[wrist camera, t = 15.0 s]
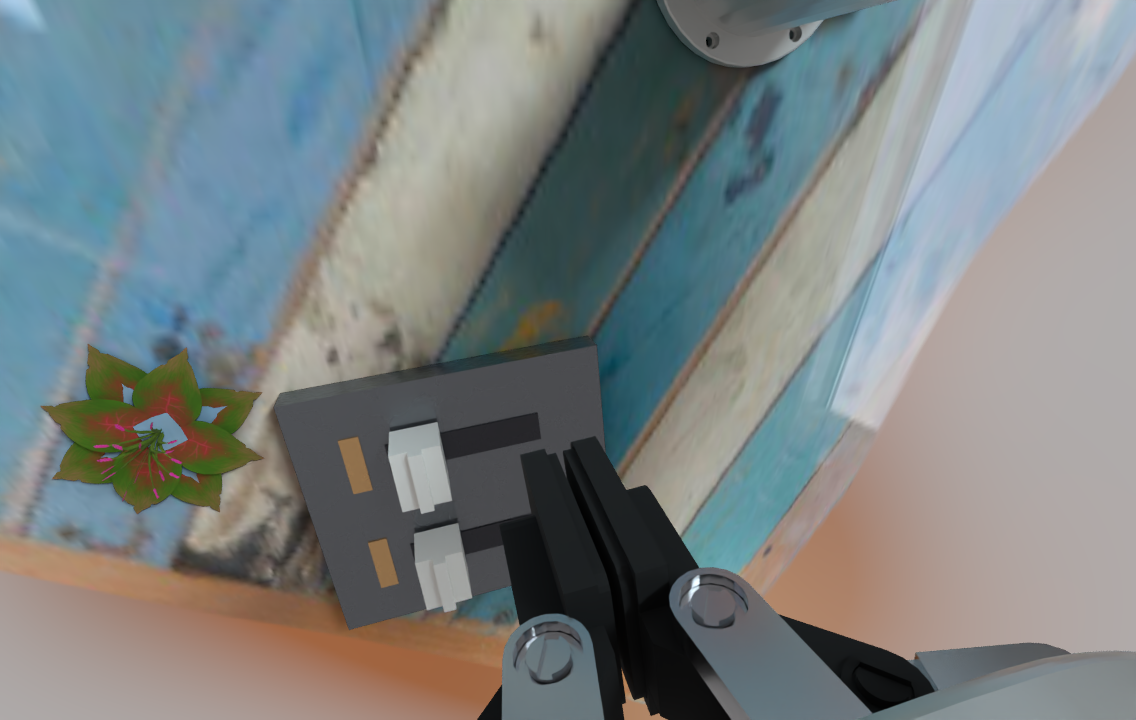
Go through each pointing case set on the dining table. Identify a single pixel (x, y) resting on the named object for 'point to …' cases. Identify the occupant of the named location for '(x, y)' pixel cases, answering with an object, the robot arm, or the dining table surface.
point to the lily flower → (141, 468)
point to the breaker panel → (472, 452)
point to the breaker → (419, 467)
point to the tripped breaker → (442, 567)
